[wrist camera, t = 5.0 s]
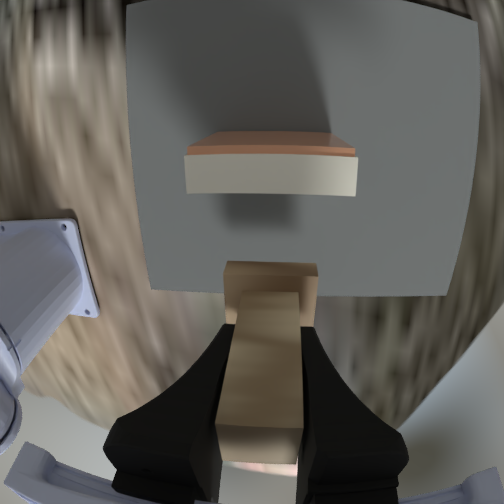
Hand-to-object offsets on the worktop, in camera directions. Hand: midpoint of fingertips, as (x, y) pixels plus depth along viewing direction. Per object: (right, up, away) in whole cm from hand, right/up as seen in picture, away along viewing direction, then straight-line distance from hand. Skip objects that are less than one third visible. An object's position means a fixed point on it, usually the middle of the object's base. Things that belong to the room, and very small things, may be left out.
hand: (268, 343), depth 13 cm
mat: (+2, +9, +3) cm, 10 cm away
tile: (0, +9, +3) cm, 10 cm away
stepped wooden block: (0, +2, +2) cm, 3 cm away
